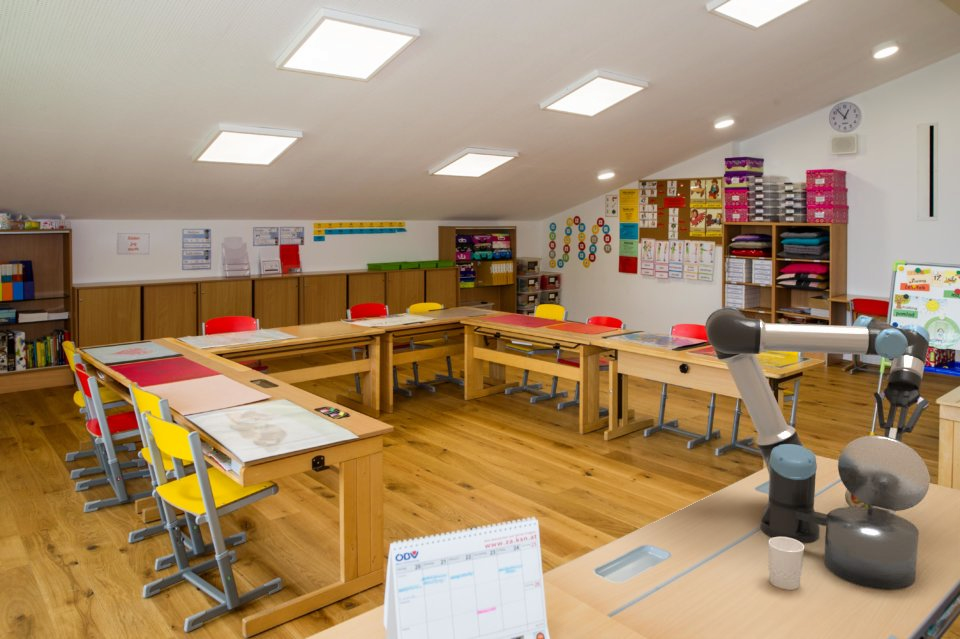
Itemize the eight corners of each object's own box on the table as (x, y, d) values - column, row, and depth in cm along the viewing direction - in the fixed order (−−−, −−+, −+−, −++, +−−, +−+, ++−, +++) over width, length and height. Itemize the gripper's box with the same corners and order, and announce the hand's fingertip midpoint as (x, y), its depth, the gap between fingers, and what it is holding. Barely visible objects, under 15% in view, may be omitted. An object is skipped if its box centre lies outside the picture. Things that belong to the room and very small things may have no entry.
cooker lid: (837, 430, 184) (842, 423, 188) (837, 502, 191) (841, 494, 194) (930, 446, 171) (933, 438, 174) (927, 523, 177) (930, 514, 181)
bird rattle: (862, 520, 211) (881, 503, 214) (853, 489, 207) (873, 473, 210) (843, 512, 216) (863, 496, 219) (834, 482, 213) (854, 466, 216)
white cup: (786, 594, 166) (788, 554, 165) (759, 579, 173) (761, 541, 172) (809, 586, 170) (811, 546, 169) (781, 571, 177) (783, 534, 176)
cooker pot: (782, 562, 181) (785, 518, 180) (806, 535, 197) (808, 494, 195) (906, 598, 164) (910, 549, 162) (921, 565, 179) (925, 520, 177)
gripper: (934, 387, 190) (920, 464, 180) (879, 381, 199) (863, 454, 188) (933, 371, 186) (918, 450, 175) (877, 365, 194) (859, 440, 183)
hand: (889, 452), depth 182 cm, fingers closed
